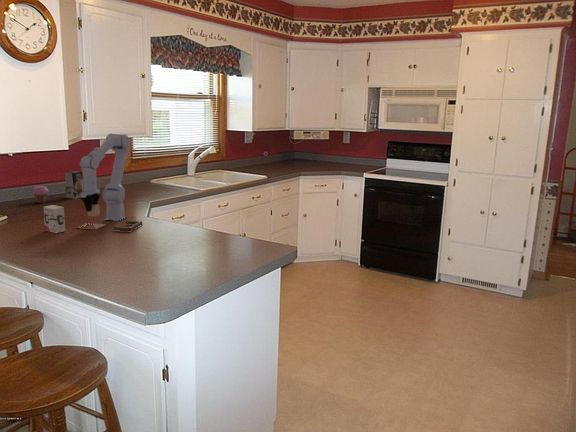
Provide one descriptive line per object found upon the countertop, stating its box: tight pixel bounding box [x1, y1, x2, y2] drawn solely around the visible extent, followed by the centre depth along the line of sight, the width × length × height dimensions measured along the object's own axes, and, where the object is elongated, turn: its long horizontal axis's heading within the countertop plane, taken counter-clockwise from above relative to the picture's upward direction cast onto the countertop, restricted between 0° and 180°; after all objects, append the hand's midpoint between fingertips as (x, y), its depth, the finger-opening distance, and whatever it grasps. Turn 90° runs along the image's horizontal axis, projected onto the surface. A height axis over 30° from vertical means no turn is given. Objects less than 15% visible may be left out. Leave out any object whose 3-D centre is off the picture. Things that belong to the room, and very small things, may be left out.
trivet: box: [77, 222, 107, 230], centre depth 228 cm, size 10×10×1 cm
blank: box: [87, 204, 101, 218], centre depth 226 cm, size 4×4×5 cm
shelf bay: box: [112, 220, 143, 231], centre depth 229 cm, size 14×8×2 cm, turn 174°
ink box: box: [43, 204, 66, 234], centre depth 216 cm, size 8×5×12 cm, turn 60°
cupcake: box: [31, 185, 50, 204], centre depth 278 cm, size 9×9×10 cm
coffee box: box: [64, 170, 84, 200], centre depth 297 cm, size 9×6×16 cm
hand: (91, 210), depth 226 cm, fingers closed on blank, 4 cm apart
